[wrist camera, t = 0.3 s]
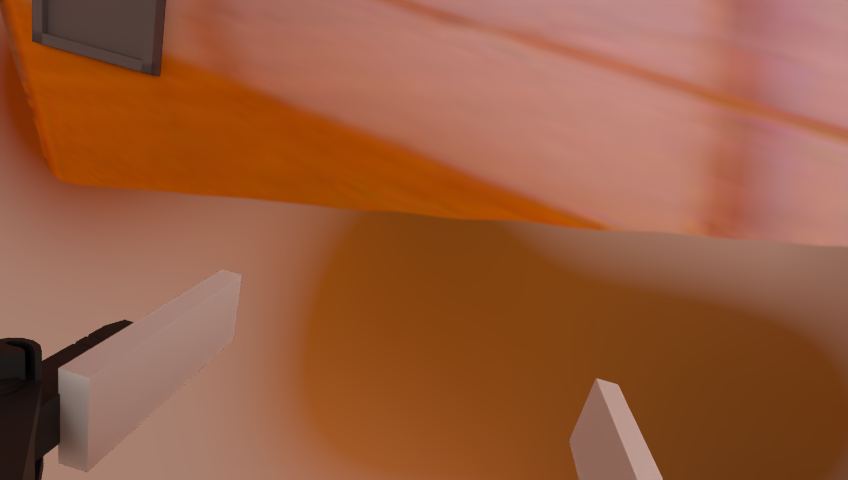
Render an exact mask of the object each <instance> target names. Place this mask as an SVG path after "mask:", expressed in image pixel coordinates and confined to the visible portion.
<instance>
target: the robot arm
mask: <svg viewBox="0 0 848 480" xmlns="http://www.w3.org/2000/svg"><path fill="white" fill-rule="evenodd" d="M241 278H242V275H241V274H237V273H234V272H231V271H227V270H223V269H222V270H220V271H218V272H217V273H215V274H213V275H212V276H210V277H208V278H207V279H205V280H204V281H202V282H201V283H198V284H197V285H195V286H194V287H192V288H190V289H189V290H187V291H185V292H184V293H182V294H180V295H179V296H177V297H175V298H174V299H172V300H171V301H169V302H167V303H165V304H164V305H162V306H160V307H159V308H157V309H156V310H154V311H152V312H151V313H149V314H147V315H146V316H144V317H142V318H141V319H139V320H137V321H136V322H130V321H127V320H123V321H119V322H116V323H112V324H109V325H105V326H103V327H102V328H100V329H98V330H96V331H94V332H93V333H91V334H89V336H88V337H84V338H82V339H80V340H79V341H77V342H76V343H75V344H72V345H70V346H68V347H66V348H65V349H63V350H61V351H59V352H57V353H56V354H54V355H52V356H50V357H49V358H47V359H45V360H43V361H42V350H41V346H40V345H39V344H38V343H37V342H35V341H33V340H29V339H25V338H5V339H0V480H41V478H42V472H43V456H44V455H45V454H46V453H48V452H49V451H50V450H51V449H53V448H54V447H55V446H57V445H58V447H59V450H58V451H59V453H58V454H59V463H60V464H63V465H66V466H69V467H73V468H75V469H79V470H82V471H85V472H88V471H89V470H91V469H92V468H93V467H94V466H95V465H96V464H97V463H98V462H99V461H100V460H102V459H103V458H104V457H105V456H106V455H107V454H108V453H109V452H110V451H111V450H113V449H114V448H115V447H116V446H117V445H118V444H119V443H120V442H121V441H122V440H123V439H124V438H126V437H127V436H128V435H129V434H130V433H131V432H132V431H133V430H135V429H136V428H137V427H138V426H139V425H140V424H141V423H142V422H143V421H144V420H146V419H147V418H148V417H149V416H150V415H151V414H152V413H153V412H154V411H155V410H156V409H158V408H159V407H160V406H161V405H162V404H163V403H164V402H165V401H166V400H167V399H169V398H170V397H171V396H172V395H173V394H174V393H175V392H176V391H177V390H179V389H180V388H181V387H182V386H183V385H184V384H185V383H186V382H187V381H188V380H190V379H191V378H192V377H193V376H194V375H195V374H196V373H197V372H198V371H199V370H201V368H203V367H204V366H205V365H206V364H207V363H208V362H209V361H210V360H212V359H213V358H214V357H215V356H216V355H217V354H218V353H219V352H220V351H221V350H222V349H224V347H226V346H227V345H228V344H229V343H230V342H231V341H232V340H233V339H234V331H235V323H236V316H237V309H238V301H239V294H240V287H241ZM570 445H571V449H572V453H573V457H574V461H575V465H576V469H577V473H578V477H579V480H663V479H662V476H661V475H660V472H659V471H658V468H657V466H656V464H655V462H654V460H653V458H652V455H651V453H650V451H649V449H648V447H647V445H646V443H645V441H644V439H643V436H642V434H641V432H640V430H639V428H638V426H637V424H636V422H635V420H634V418H633V415H632V413H631V411H630V409H629V407H628V405H627V403H626V401H625V398H624V396H623V394H622V392H621V390H620V388H619V386H618V385H617V384H614V383H611V382H607V381H604V380H601V379H596V380H595V382H594V385H593V387H592V389H591V392H590V394H589V396H588V399H587V401H586V403H585V406H584V408H583V410H582V413H581V415H580V417H579V420H578V422H577V424H576V427H575V429H574V431H573V434H572V436H571V438H570Z"/></svg>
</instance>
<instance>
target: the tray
mask: <svg viewBox="0 0 848 480" xmlns="http://www.w3.org/2000/svg"><path fill="white" fill-rule="evenodd" d="M165 3H166V0H32V41H33V42H36V43H40V44H43V45H47V46H51V47H54V48H58V49H61V50H65V51H69V52H72V53H76V54H79V55H83V56H86V57H90V58H94V59H97V60H101V61H104V62H108V63H111V64H115V65H119V66H122V67H126V68H129V69H133V70H136V71H140V72H144V73H147V74H151V75H159V76H160V69H161V56H162V43H163V30H164V17H165Z"/></svg>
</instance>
